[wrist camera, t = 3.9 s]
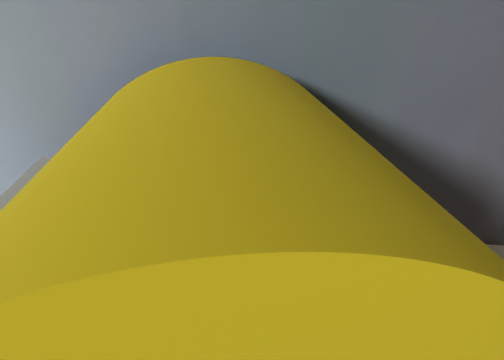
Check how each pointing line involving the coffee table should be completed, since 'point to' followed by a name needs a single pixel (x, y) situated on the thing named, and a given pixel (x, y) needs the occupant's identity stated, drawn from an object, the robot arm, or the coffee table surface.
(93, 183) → the yellow hollow cylinder
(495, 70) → the coffee table surface
